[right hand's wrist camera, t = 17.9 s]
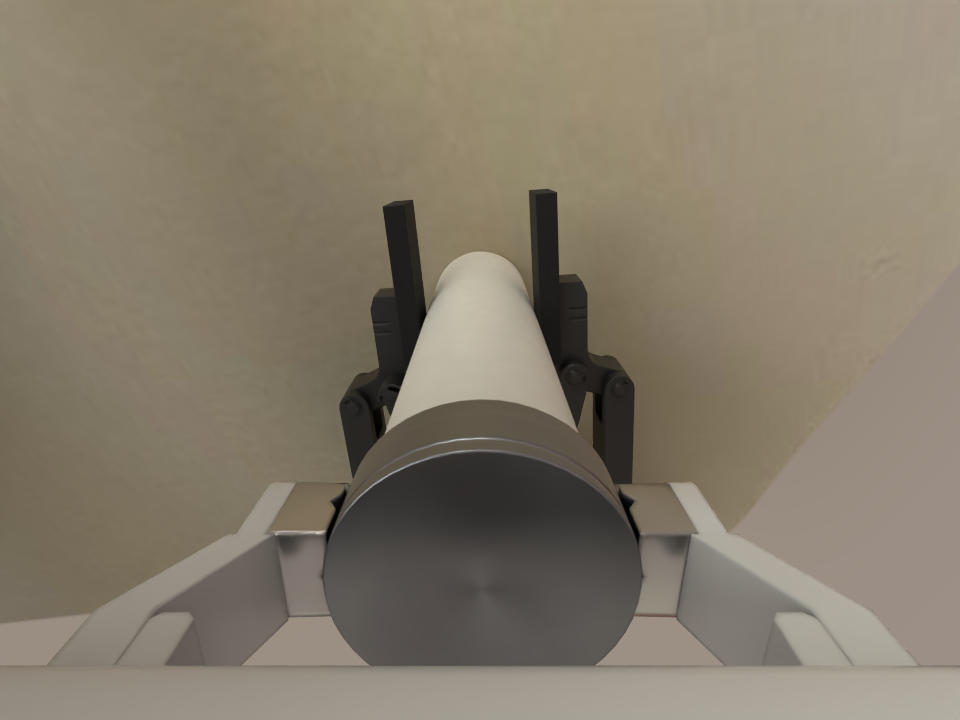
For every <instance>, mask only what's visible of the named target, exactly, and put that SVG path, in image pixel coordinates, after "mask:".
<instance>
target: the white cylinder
mask: <svg viewBox="0 0 960 720" xmlns="http://www.w3.org/2000/svg"><path fill="white" fill-rule="evenodd" d="M475 399H487V400H501V401H508V402H514V403H518V404H522V405H525V406H529V407H532V408H536V409H538V410H540V411H543V412H545V413H547V414H550V415H552V416H554V417H555V418H557V419H559V420H561V421H562V422H564V423H566V424H567V425H569V426H570V427H571V428H573V429H574V430H575V431H576V432H578V431H577V428H576V425H575V422H574V420H573V417H572V414H571V411H570V409H569V406H568V403H567V400H566V398H565V395H564V392H563V389H562V387H561V384H560V381H559V378H558V375H557V373H556V370H555V367H554V364H553V362H552V359H551V356H550V353H549V351H548V348H547V345H546V342H545V340H544V337H543V334H542V331H541V329H540V326H539V323H538V320H537V318H536V315H535V312H534V309H533V307H532V304H531V301H530V298H529V296H528V293H527V290H526V287H525V285H524V282H523V279H522V277H521V275H520V273H519V272H518V270H517V269H516V267H515V266H514V265H513V264H512V263H511V262H509V261H508V260H507V259H505V258H503V257H502V256H499V255H497V254H494V253H491V252H471V253H467V254H465V255H462V256H460V257H458V258H457V259H455V260H454V261H452V262H451V263H450V264H449V265H448V266H447V267H446V269H445V270H444V271H443V273H442V274H441V276H440V279H439V281H438V284H437V287H436V289H435V292H434V295H433V298H432V301H431V304H430V306H429V309H428V312H427V315H426V318H425V321H424V324H423V326H422V329H421V332H420V335H419V338H418V341H417V343H416V346H415V349H414V352H413V355H412V358H411V360H410V363H409V366H408V369H407V372H406V375H405V378H404V380H403V383H402V386H401V389H400V392H399V395H398V397H397V400H396V403H395V406H394V409H393V412H392V414H391V417H390V420H389V423H388V426H387V429H386V432H385V434H386V433H387V432H388V431H389V430H390V429H391V428H393V427H395V426H396V425H398V424H399V423H401V422H402V421H404V420H405V419H407V418H409V417H411V416H413V415H415V414H417V413H419V412H421V411H424V410H427V409H430V408H433V407H436V406H439V405H442V404H446V403H451V402H456V401H463V400H475ZM385 434H384V435H385Z"/></svg>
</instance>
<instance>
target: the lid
mask: <svg viewBox="0 0 960 720" xmlns="http://www.w3.org/2000/svg"><path fill="white" fill-rule="evenodd" d="M322 577H323V589H324V595H325V599H326V603H327V607H328V610H329V612H330V614H331V617H332V619H333V621H334V624H335V625H336V627H337V629H338V630H339V632H340V633H341V635H342V637H343V638H344V639H345V640H346V642H347V643H348V644H349V645H350V647H351V648H352V649H353V650H354V651H355V652H356V653H357V654H358V655H359V656H360V657H361V658H362V659H363V660H364V661H365V662H366V663H368V664H369V665H370V666H594V665H596V664H597V663H598V662H599V661H601V660H602V659H603V658H604V657H605V656H606V655H607V654H608V653H609V652H610V651H611V650H612V649H613V648H614V647H615V646H616V644H617V643H618V642H619V640H620V639H621V638H622V636H623V635H624V634H625V632H626V630H627V628H628V627H629V625H630V623H631V621H632V619H633V617H634V614H635V612H636V609H637V606H638V603H639V599H640V593H641V588H642V562H641V555H640V550H639V547H638V544H637V541H636V538H635V535H634V532H633V530H632V528H631V525H630V523H629V521H628V518H627V516H626V513H625V511H624V508H623V506H622V503H621V501H620V499H619V496H618V494H617V491H616V489H615V486H614V484H613V482H612V479H611V477H610V474H609V472H608V471H607V469H606V467H605V465H604V463H603V461H602V459H601V458H600V457H599V455H598V454H597V452H596V451H595V450H594V448H593V447H592V446H591V445H590V444H589V443H588V442H587V441H586V440H585V439H584V438H583V437H582V436H581V435H580V434H579V433H578V432H576V431H575V430H574V429H573V428H571V427H570V426H569V425H567V424H566V423H564V422H562V421H561V420H559V419H557V418H555V417H554V416H552V415H550V414H547V413H545V412H543V411H540V410H538V409H536V408H532V407H529V406H525V405H522V404H518V403H514V402H508V401H501V400H487V399H475V400H463V401H456V402H451V403H446V404H442V405H439V406H436V407H433V408H430V409H427V410H424V411H421V412H419V413H417V414H415V415H413V416H411V417H409V418H407V419H405V420H404V421H402V422H401V423H399V424H398V425H396V426H395V427H393V428H391V429H390V430H389V431H388V432H387V433H386V434H385V435H383V436H382V437H381V438H380V439H379V440H378V441H377V442H376V443H375V444H374V446H373V447H372V448H371V449H370V450H369V451H368V452H367V454H366V456H365V457H364V459H363V460H362V462H361V463H360V465H359V467H358V469H357V471H356V474H355V476H354V478H353V481H352V483H351V485H350V488H349V490H348V493H347V495H346V498H345V500H344V503H343V505H342V508H341V510H340V513H339V515H338V518H337V520H336V523H335V525H334V528H333V530H332V533H331V535H330V538H329V540H328V543H327V547H326V551H325V555H324V561H323V572H322Z"/></svg>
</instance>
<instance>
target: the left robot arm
mask: <svg viewBox="0 0 960 720" xmlns="http://www.w3.org/2000/svg"><path fill="white" fill-rule="evenodd" d="M529 202H530V226H531V249H532V273H533V296H534V312H535V315H536V318H537V320H538V323H539V326H540V329H541V331H542V334H543V337H544V340H545V342H546V345H547V348H548V351H549V353H550V356H551V359H552V362H553V364H554V367H555V370H556V373H557V375H558V378H559V381H560V384H561V387H562V389H563V392H564V395H565V398H566V400H567V403H568V406H569V409H570V411H571V414H572V417H573V420H574V422H575V425H576V428H577V427H578V423H579V419H580V415H581V411H582V407H583V403H584V399H585V395H586V391H588V392H592V393H593V448H594V450H595V451H596V452H597V454H598V455H599V457H600V458H601V459H602V461H603V463H604V465H605V467H606V469H607V471H608V472H609V474H610V477H611V479H612V482H613V484H614V485H615V484H632V461H633V425H634V384H633V382H632V381H631V379H630V378H629V376H628V375H627V373H626V372H625V370H624V369H623V367H622V366H621V365H620V363H619V362H618V361H617V359H616V358H614V357H612V356H607V355H606V356H602V357H601V356H598V355H594V354H591V353H589V352H588V347H587V292H586V290H585V287H584V285H583V283H582V281H581V280H580V278H579V277H578V276H577V275H576V274H569V275H559V255H558V214H557V192H555V191H552V190H549V189H540V190H529ZM383 212H384V219H385V227H386V234H387V241H388V248H389V256H390V263H391V270H392V277H393V285H394V288H385V289H380V290H379V291H378V292H377V293H376V295H375V296H374V298H373V302H372V306H371V315H372V322H373V328H374V333H375V341H376V347H377V354H378V360H379V368H378V369H376V370H374V371H372V372H370V373H361V374H358V375H357V376H356V377H355V378H354V380H353V382H352V383H351V385H350V386H349V388H348V390H347V392H346V393H345V395H344V397H343V399H342V401H341V402H340V414H341V419H342V424H343V429H344V435H345V440H346V445H347V450H348V456H349V461H350V466H351V472H352V477H353V478H354V476H355V474H356V471H357V469H358V467H359V465H360V463H361V462H362V460H363V459H364V457H365V456H366V454H367V452H368V451H369V450H370V449H371V448H372V447H373V446H374V444H375V443H376V442H377V441H378V440H379V439H380V438H381V437H382V436H383V435H384V434H385V432H386V425H385V418H384V412H383V406H385V405H386V407H387V409H388V411H389V414H390V416H391V414H392V412H393V409H394V406H395V403H396V400H397V397H398V395H399V392H400V389H401V386H402V383H403V380H404V378H405V375H406V372H407V369H408V366H409V363H410V360H411V358H412V355H413V352H414V349H415V346H416V343H417V341H418V338H419V335H420V332H421V329H422V326H423V324H424V321H425V318H426V306H425V298H424V289H423V281H422V272H421V264H420V255H419V247H418V239H417V230H416V222H415V213H414V205H413V200H405V201H394V202H392V203H390V204H387V205H385V206H383Z"/></svg>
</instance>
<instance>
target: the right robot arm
mask: <svg viewBox="0 0 960 720" xmlns="http://www.w3.org/2000/svg"><path fill="white" fill-rule="evenodd" d="M614 486H615V489H616V491H617V494H618V496H619V499H620V501H621V503H622V506H623V508H624V511H625V513H626V516H627V518H628V521H629V523H630V525H631V528H632V530H633V532H634V535H635V538H636V541H637V544H638V547H639V550H640V555H641V562H642V588H641V593H640V599H639V603H638V606H637V609H636V612H635V614H634V616H647V617H677V620H678V621H679V622H680V623H681V624H682V625H683V626H684V627H685V628H686V629H687V630H688V631H689V632H690V633H691V634H692V635H693V636H694V637H695V638H696V639H697V640H698V641H700V642H701V643H702V644H703V645H704V646H705V647H706V648H707V649H708V650H709V651H710V652H711V653H712V654H713V655H714V656H715V657H716V658H717V659H718V660H719V661H720V662H721V663H722V664H724V665H725V666H241V665H242V664H243V663H244V662H245V661H246V660H247V659H248V658H249V657H251V656H252V655H253V654H254V653H255V652H256V651H257V650H258V649H259V648H260V647H261V646H262V645H263V644H264V643H265V642H266V641H267V640H268V639H269V638H270V637H271V636H272V635H273V634H274V633H275V632H276V631H277V630H278V629H280V628H281V627H282V626H283V625H284V624H285V623H286V622H287V621H288V617H317V616H331V614H330V612H329V610H328V607H327V603H326V599H325V595H324V589H323V577H322V572H323V561H324V555H325V551H326V547H327V543H328V540H329V538H330V535H331V533H332V530H333V528H334V525H335V523H336V520H337V518H338V515H339V513H340V510H341V508H342V505H343V503H344V500H345V498H346V495H347V493H348V490H349V488H350V485H349V483H309V482H299V483H297V482H274V483H271V484H269V485H268V487H267V488H266V490H265V491H264V493H263V494H262V496H261V497H260V499H259V500H258V502H257V503H256V505H255V506H254V508H253V509H252V511H251V512H250V514H249V515H248V517H247V518H246V520H245V521H244V523H243V524H242V526H241V527H240V529H239V530H238V532H237V533H236V534H228V535H226V536H224V537H222V538H221V539H219V540H217V541H215V542H214V543H212V544H210V545H208V546H206V547H205V548H203V549H201V550H199V551H198V552H196V553H194V554H192V555H191V556H189V557H187V558H185V559H184V560H182V561H180V562H178V563H176V564H175V565H173V566H171V567H169V568H168V569H166V570H164V571H162V572H161V573H159V574H157V575H155V576H154V577H152V578H150V579H148V580H146V581H145V582H143V583H141V584H139V585H138V586H136V587H134V588H132V589H131V590H129V591H127V592H125V593H124V594H122V595H120V596H118V597H116V598H115V599H113V600H111V601H109V602H108V603H106V604H104V605H102V606H101V607H99V608H97V609H95V610H94V611H93V612H92V614H91V615H90V616H89V617H88V618H87V619H86V621H85V622H84V623H83V624H82V625H81V626H80V627H79V629H78V630H77V631H76V632H75V633H74V634H73V636H72V637H71V638H70V639H69V640H68V641H67V642H66V644H65V645H64V646H63V647H62V648H61V649H60V651H59V652H58V653H57V654H56V655H55V656H54V657H53V659H52V660H51V661H50V662H49V663H48V664H47V666H0V720H960V666H921V665H920V664H919V663H918V661H917V660H916V659H915V658H914V657H913V656H912V655H911V653H910V652H909V651H908V650H907V649H906V648H905V647H904V645H903V644H902V643H901V642H900V641H899V640H898V639H897V637H896V636H895V635H894V634H893V633H892V632H891V631H890V629H889V628H888V627H887V626H886V625H885V624H884V623H883V621H882V620H881V619H880V618H879V617H878V616H877V615H876V614H875V612H874V611H873V610H871V609H869V608H867V607H866V606H864V605H862V604H860V603H859V602H857V601H855V600H853V599H851V598H850V597H848V596H846V595H844V594H843V593H841V592H839V591H837V590H835V589H834V588H832V587H830V586H828V585H827V584H825V583H823V582H821V581H820V580H818V579H816V578H814V577H812V576H811V575H809V574H807V573H805V572H804V571H802V570H800V569H798V568H796V567H795V566H793V565H791V564H789V563H788V562H786V561H784V560H782V559H780V558H779V557H777V556H775V555H773V554H772V553H770V552H768V551H766V550H764V549H763V548H761V547H759V546H757V545H756V544H754V543H752V542H750V541H748V540H747V539H745V538H743V537H741V536H740V535H738V534H729V533H728V531H727V530H726V528H725V527H724V526H723V524H722V523H721V521H720V520H719V518H718V517H717V515H716V514H715V512H714V511H713V509H712V508H711V507H710V505H709V504H708V502H707V501H706V499H705V498H704V496H703V495H702V493H701V492H700V491H699V489H698V488H697V486H696V485H695V484H694V483H692V482H671V483H644V484H615V485H614Z"/></svg>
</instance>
